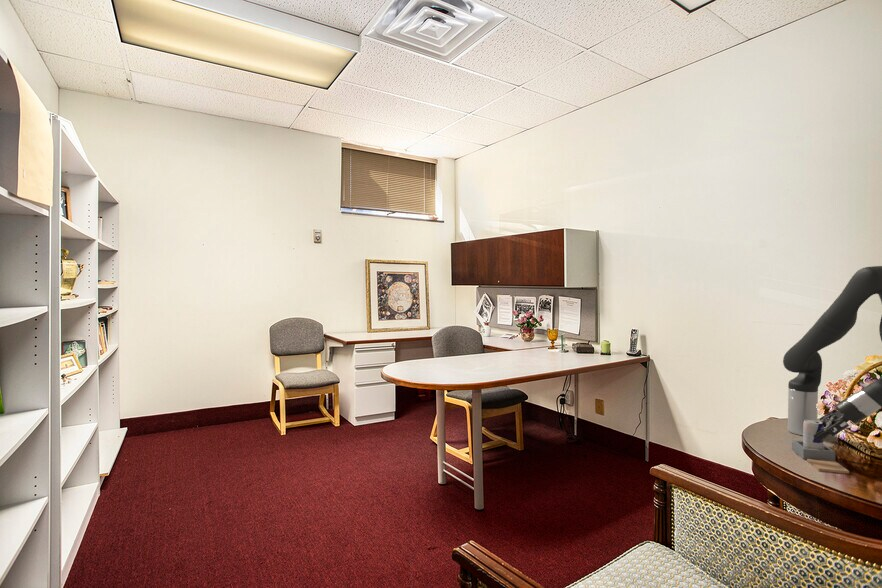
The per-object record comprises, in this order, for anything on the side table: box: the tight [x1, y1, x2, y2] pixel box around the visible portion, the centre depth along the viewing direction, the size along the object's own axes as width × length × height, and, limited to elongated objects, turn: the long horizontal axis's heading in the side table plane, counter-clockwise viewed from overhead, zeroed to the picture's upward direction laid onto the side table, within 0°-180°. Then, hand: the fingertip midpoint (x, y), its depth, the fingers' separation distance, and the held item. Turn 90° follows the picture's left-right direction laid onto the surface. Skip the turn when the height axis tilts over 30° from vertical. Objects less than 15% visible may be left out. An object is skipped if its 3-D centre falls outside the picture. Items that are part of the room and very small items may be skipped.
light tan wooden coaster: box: [806, 459, 850, 474], centre depth 151 cm, size 8×8×1 cm
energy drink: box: [802, 419, 824, 450], centre depth 160 cm, size 5×5×12 cm
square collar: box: [791, 439, 836, 461], centre depth 160 cm, size 9×9×4 cm
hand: (813, 434), depth 160 cm, fingers open, 8 cm apart
